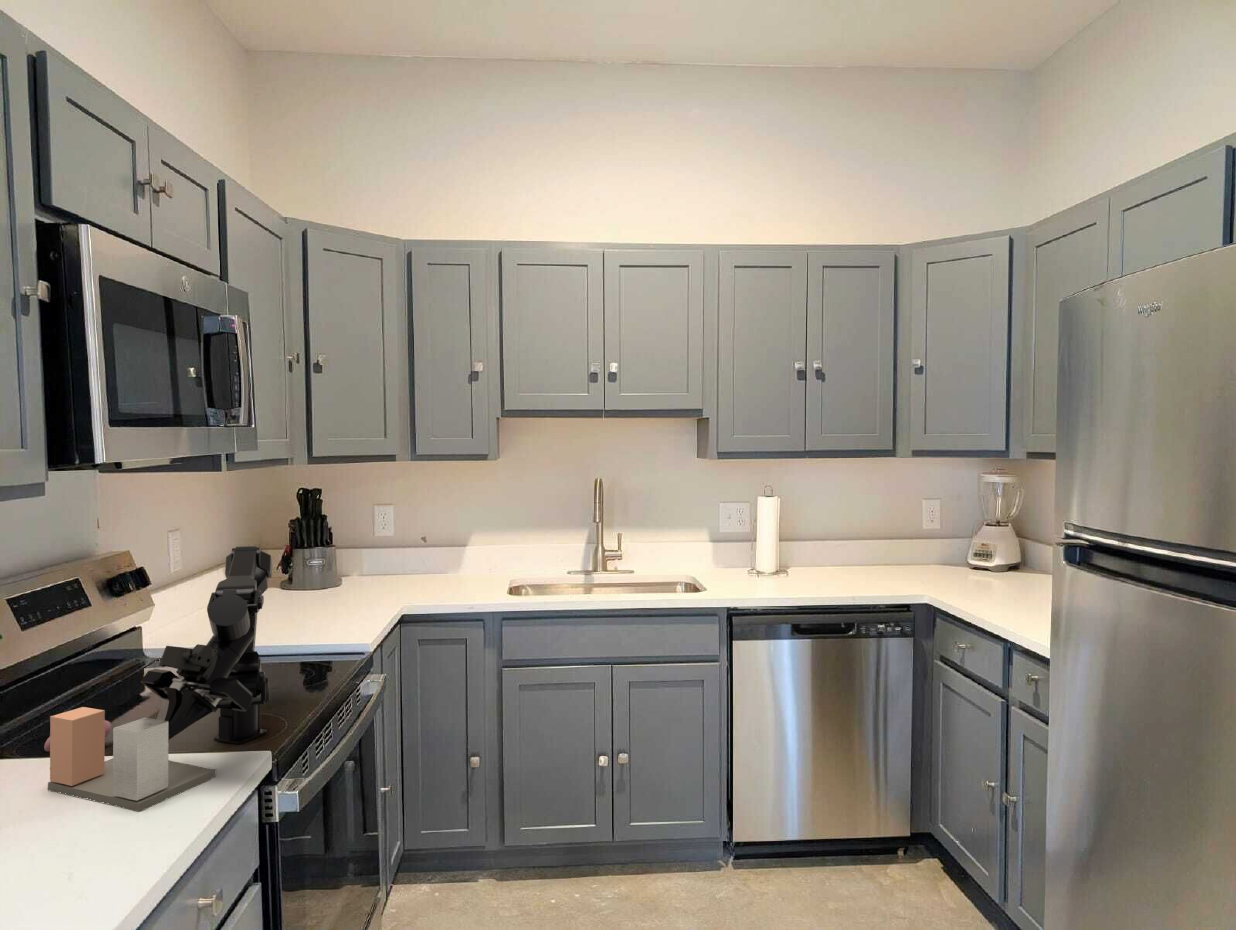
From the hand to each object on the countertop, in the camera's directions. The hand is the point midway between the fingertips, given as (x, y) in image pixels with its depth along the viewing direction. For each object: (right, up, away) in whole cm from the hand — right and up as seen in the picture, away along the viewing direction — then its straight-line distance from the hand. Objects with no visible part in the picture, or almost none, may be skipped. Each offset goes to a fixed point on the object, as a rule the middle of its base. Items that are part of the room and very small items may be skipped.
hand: (163, 739), depth 116 cm
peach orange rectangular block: (-15, -7, +2) cm, 16 cm away
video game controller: (-26, -8, +18) cm, 32 cm away
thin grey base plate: (-7, -8, +3) cm, 11 cm away
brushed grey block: (-2, -7, -3) cm, 8 cm away
